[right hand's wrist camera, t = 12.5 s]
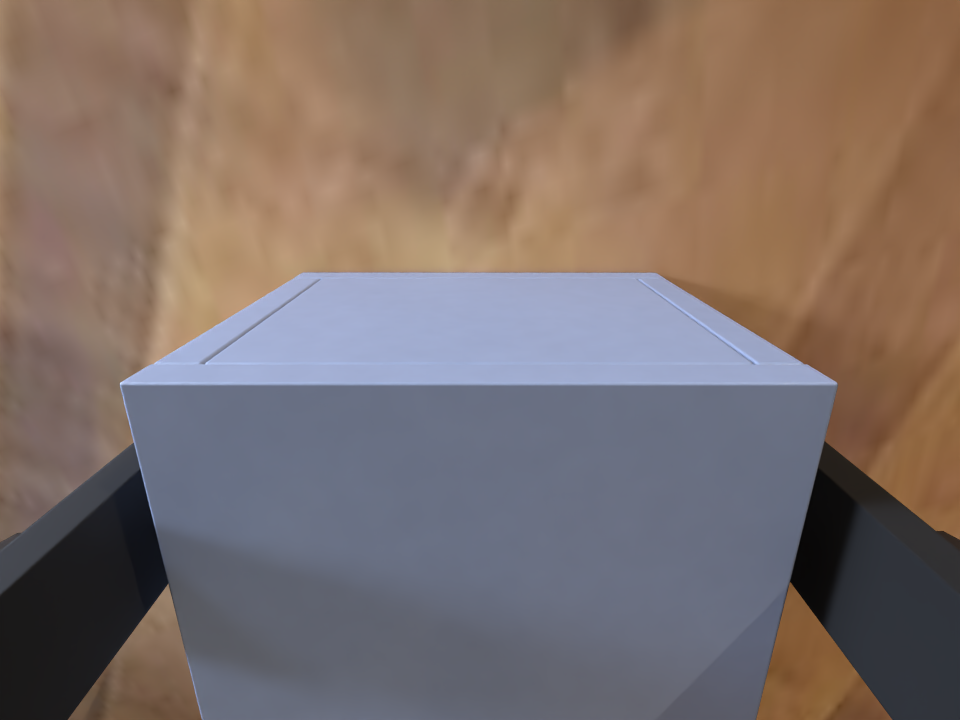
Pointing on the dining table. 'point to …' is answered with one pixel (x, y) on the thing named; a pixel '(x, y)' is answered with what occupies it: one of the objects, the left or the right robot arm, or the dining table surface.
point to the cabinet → (478, 499)
